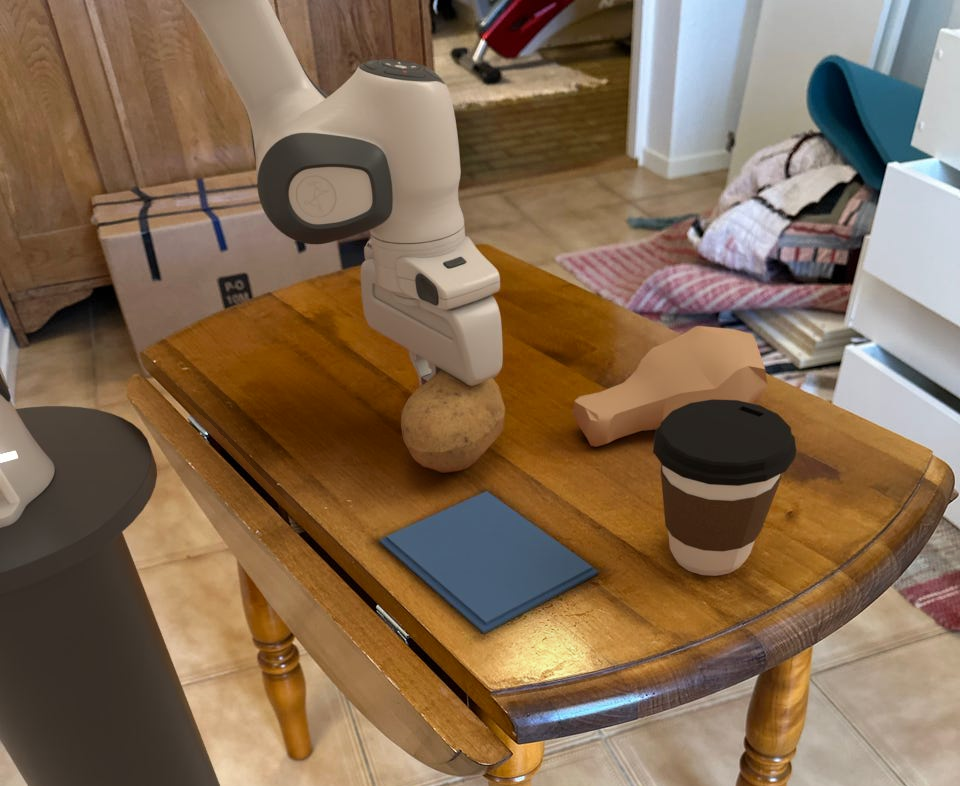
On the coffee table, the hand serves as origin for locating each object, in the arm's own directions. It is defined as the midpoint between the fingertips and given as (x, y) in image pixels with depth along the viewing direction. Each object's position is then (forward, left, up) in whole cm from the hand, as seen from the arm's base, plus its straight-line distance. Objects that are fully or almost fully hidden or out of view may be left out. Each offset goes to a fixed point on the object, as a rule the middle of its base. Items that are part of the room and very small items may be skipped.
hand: (434, 392), depth 97 cm
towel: (-10, -23, -3) cm, 25 cm away
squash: (+18, -17, -3) cm, 25 cm away
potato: (-3, -8, -3) cm, 9 cm away
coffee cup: (+5, -35, -3) cm, 35 cm away
